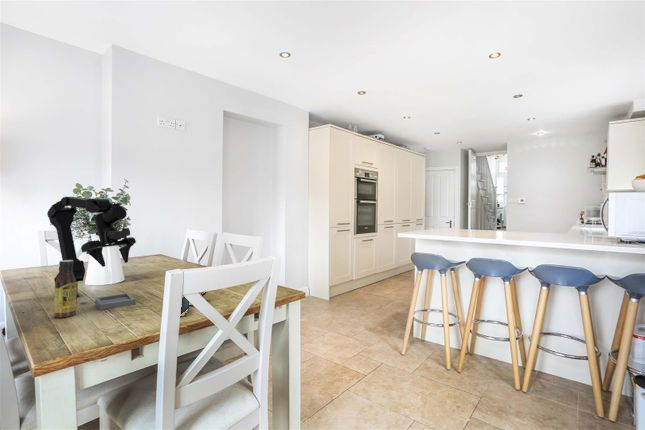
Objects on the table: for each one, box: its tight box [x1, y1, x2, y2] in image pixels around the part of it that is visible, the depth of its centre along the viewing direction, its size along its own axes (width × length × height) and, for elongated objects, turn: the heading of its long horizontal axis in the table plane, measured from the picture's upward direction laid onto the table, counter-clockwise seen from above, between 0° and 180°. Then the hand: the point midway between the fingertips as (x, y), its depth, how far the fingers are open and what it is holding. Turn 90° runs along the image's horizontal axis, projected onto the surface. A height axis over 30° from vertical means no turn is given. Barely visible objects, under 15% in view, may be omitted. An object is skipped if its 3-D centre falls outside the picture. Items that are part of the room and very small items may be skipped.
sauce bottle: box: [53, 260, 77, 319], centre depth 114 cm, size 6×6×20 cm
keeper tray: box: [94, 292, 136, 311], centre depth 129 cm, size 12×12×2 cm
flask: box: [181, 297, 190, 314], centre depth 119 cm, size 9×3×11 cm, turn 8°
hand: (115, 264), depth 126 cm, fingers open, 9 cm apart
